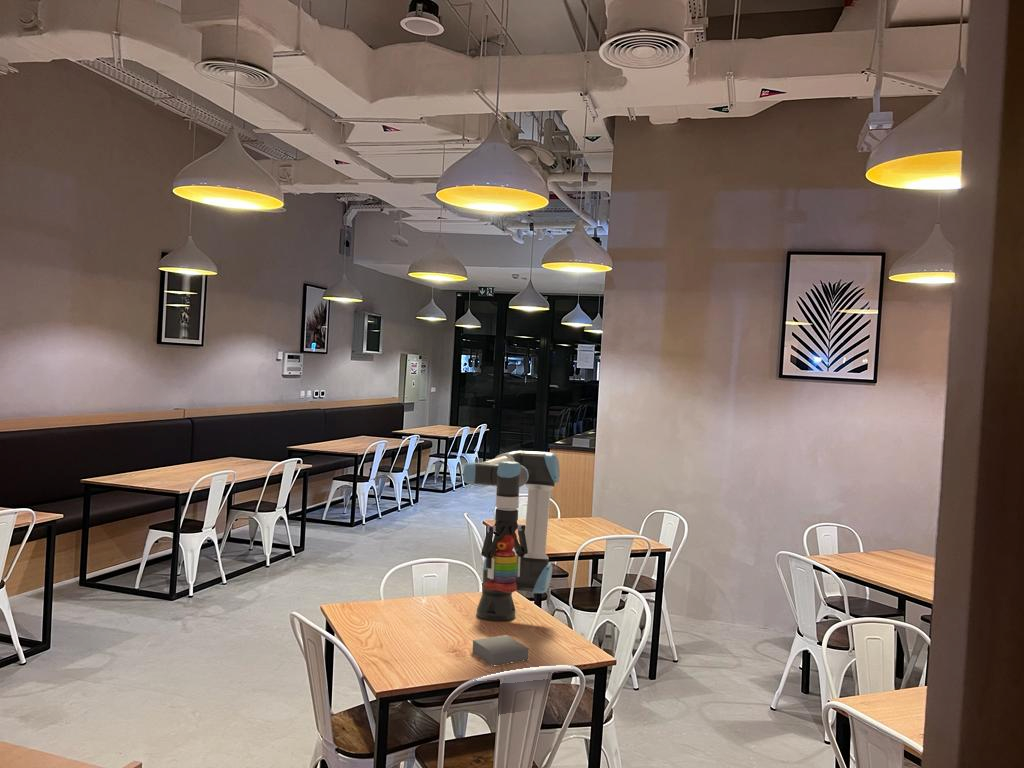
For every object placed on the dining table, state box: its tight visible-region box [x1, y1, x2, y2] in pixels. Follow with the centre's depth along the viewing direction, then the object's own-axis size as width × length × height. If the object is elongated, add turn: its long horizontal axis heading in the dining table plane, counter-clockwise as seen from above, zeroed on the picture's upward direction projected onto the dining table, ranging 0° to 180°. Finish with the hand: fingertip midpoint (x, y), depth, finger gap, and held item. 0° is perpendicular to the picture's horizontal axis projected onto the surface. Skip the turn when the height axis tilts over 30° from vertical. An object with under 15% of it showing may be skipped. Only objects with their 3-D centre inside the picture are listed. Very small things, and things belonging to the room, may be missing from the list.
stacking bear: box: [482, 534, 518, 594], centre depth 238 cm, size 11×10×18 cm
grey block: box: [472, 634, 530, 667], centre depth 237 cm, size 13×14×4 cm
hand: (503, 576), depth 238 cm, fingers closed on stacking bear, 9 cm apart
